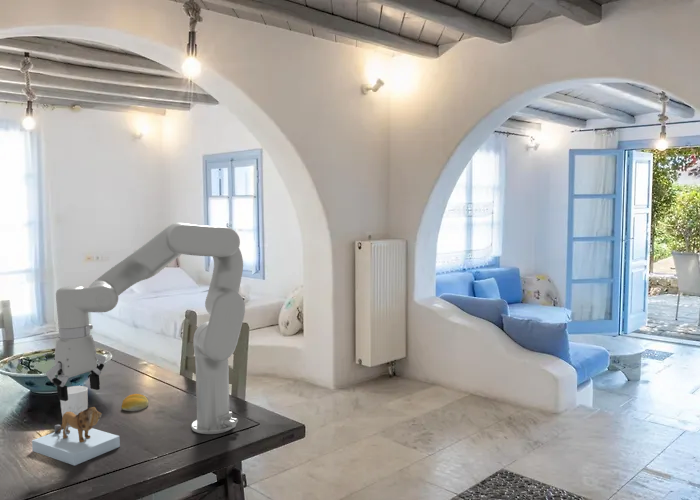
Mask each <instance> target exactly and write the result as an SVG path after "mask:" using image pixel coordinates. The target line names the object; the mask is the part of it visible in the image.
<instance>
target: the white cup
mask: <svg viewBox="0 0 700 500" xmlns="http://www.w3.org/2000/svg"><path fill="white" fill-rule="evenodd" d="M88 389H89V388H88V386H85V385H73V386H67V391H68V400H67V401H62V400H59V402H60V410H61V416H62V418H63V415H64V414H65V413H66V412H73V413H74V414H75V415H78V414H79V413H80V412H82V411H84V410H86V409H88V406H89V402H88V401H89V399H88V396H89V395H88V393H89V392H88V391H89V390H88Z"/></svg>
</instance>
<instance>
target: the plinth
mask: <svg viewBox="0 0 700 500" xmlns="http://www.w3.org/2000/svg"><path fill="white" fill-rule="evenodd" d="M61 425H62V424H55V425H54V432H51V433H49V434H48V433H47V434H46V435H43V436H40V437H37V438H34V439H31V444H32V445H31V449H32V452H34V453H37V454H40V455H42V456H45V457H49V458H52V459H53V460H54V459H55V460H57V461H59V462H63V463H66V464H69V465H71V466H77V465H79V464H81V463H84V462H87V461H88V460H91V459H94V458H96V457H99V456H101V455H103V454H105V453H108V452H110V451H113V450H116V449H117V448H120V447H121V444H120V443H121V442H120V441H121V440H120V435H118V434H113V433H110V432H108V431H107V432H106V431H103V430H100V429H96V428H94V427H92V429H90V430H89V431H88V435H89V436H90V438H85V431H83V438H84V442H79V434H78V429H74V428H72V427H71V426H70V427H69V428H68V430H70V433H66V435H67V436H68V438H65V439H64V438H63V429H61V431H60V432H58V433H56V431H57V430H59V429H60V428H61Z"/></svg>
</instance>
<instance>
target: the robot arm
mask: <svg viewBox="0 0 700 500" xmlns="http://www.w3.org/2000/svg"><path fill="white" fill-rule="evenodd" d="M240 245H241V240H240V236H239V234H238V233H237V232H236V231H235V230H234V229H233V228H231V227H227V226H222V225H212V226H211V225H200V224H199V225H198V224H191V223H185V222H174V223H171V224H169V225H168V226H167V227H165V228H164V229H162V230H161V231H160V232H159V233H158V234H156V235H155V236H154V237H152V238H151V239H150V240H149V241H147V242H146V243H144V245H142V246H141V247H139V248H138V249H137V250H135V251H134V252H133V253H131V254H130V255H127V257H125V258H124V259H123V260H121V261H120V262H118V263H117V264H115V265H113V266H112V267H111V268H109V270H107V271H105V272H104V273H103V274H101V276H100V275H99V277H98V278H97V279H95V280H94V281H93V282H92V283H91V284H90V285H89V286H88V287H84V286H81V285H69V286H63V287H60V288H58V289H57V290H56V292H55V300H56V301H55V302H56V312H57V313H56V315H57V322H58V324H57V325H58V334H59V335H58V336H59V339H57V340H56V342H55V348H54V349H55V350H54V365H53V366H52V367H51V368H50V369H49V370H48V371H47V372H46V373H45V376H46V377H47V378H48V380H49V381H50V383H52V384H53V385H55V386H56V390H57V398H58V400H59V401H60V400H62V401H67V400H68V391H67V387H68V386H67V385H66V384H67V382H68V381H69V378H73V377H76V376H79V375H82V374H86V373H88V372H89V373H90V374H89V388H90V389H92V390H94V391H98V390H100V389H101V388H100V375H101V373H102V371H103V368H104V367H105V362H106V360H107V357H106V356H104V355H101V354H98V353H97V349H96V345H95V341H94V337H93V335H92V334H91V330H92V329H93V325H92V323H91V324H90V321H89V320H90V319H89V318H90V317H89V313H108V312H111V311H112V310H113V309H114V308H116V306H117V304H118V303H119V296H120V295H121V294H123V293H124V292H125V291H126V290H128V289H130V287H132V286H134V285H135V284H138V283H139V282H141V281H145V280H148V279H150V278H153V277H154V276H156V275H157V274H160V272H162V270H164V269H165V268H166V267H167V266H168V265H170V264H171V263H172V262H174V261H175V260H177V258H179V257H180V256H181V255H184V256H185V255H186V256H195V257H212V258H213V269H212V275H211V280H210V284H209V287H208V291H207V295H206V298H205V301H204V302H205V303H204V306H205V310H206V312H207V313H208V314H209V315H210V316H209V320H208V321H205V322H203V323H201V324H200V325H198V327H197V328H196V329H195V330H194V331H195V332H194V334H193V340H192V341H193V343H192V345H193V352H194V359H195V361H194V363H195V392H196V420H193V422H192V423H191V430H192V431H193V432H195V433H197V434H202V435H216V434H217V435H218V434H222V433H225V432H226V433H227V432H229V431H230V430H232V429H234V428H236V426H237V424H238V423H239V418H236V417H233V411H230V380H229V379H230V377H229V373H230V370H229V358H231V357H232V355H233V354H234V352H235V350H236V347H237V345H238V341H239V338H240V334H241V330H242V327H243V326H242V325H243V323H244V322H243V321H244V318H245V313H246V304H245V300H244V298H243V297H242V295H241V294H240V293H239V291H240V287H241V283H242V276H243V271H244V259H243V255H242V252H241V249H240ZM56 376H57V377H56Z"/></svg>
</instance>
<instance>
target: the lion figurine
mask: <svg viewBox="0 0 700 500" xmlns="http://www.w3.org/2000/svg"><path fill="white" fill-rule="evenodd" d="M101 417H102V412H100V411H98V410H97V408H96V407H95V406H90V407H87V409H86V410H84V411H82V412H80V413H79V414H78V415H75V414H74V413H73V412H66V413H65V414H64V415H63V418H62V419H61V424H60V425H61V428H60V429H59V430H57V431H56V433H58V432H60V431H61V430H63V438H64V439H65V438H68V436H67V435H66V433H70V430H68V428H69V427H72V428H74V429H78V434H79V442H84V438H83V431H85V438H90V436H89V435H88V431H89V430H90V429H92V428H94V426H96V425H97V424H98V422H99V421H100V420H101Z"/></svg>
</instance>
